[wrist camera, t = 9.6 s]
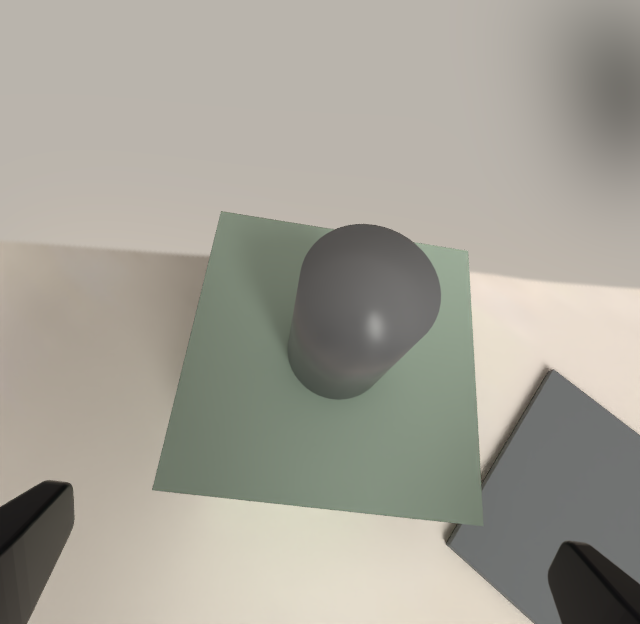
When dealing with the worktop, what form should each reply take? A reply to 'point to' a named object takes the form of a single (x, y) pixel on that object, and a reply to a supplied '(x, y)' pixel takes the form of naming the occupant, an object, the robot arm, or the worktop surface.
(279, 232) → the cover
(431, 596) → the worktop surface
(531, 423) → the mat
